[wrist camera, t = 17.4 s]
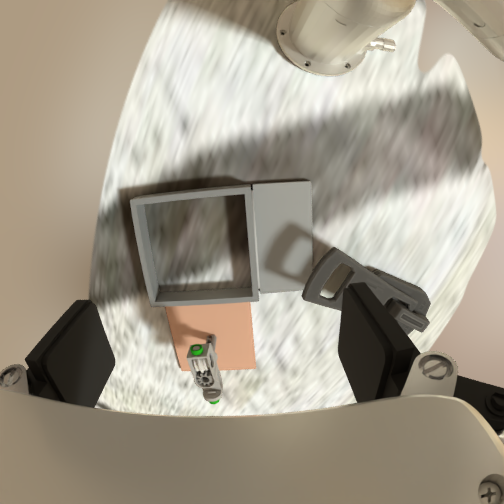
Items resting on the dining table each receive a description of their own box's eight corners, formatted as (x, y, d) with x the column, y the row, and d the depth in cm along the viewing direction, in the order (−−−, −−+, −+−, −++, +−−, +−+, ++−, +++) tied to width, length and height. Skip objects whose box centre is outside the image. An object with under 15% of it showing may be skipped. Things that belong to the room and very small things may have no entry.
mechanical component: (209, 362, 47) (203, 405, 38) (195, 312, 44) (183, 353, 35) (227, 360, 47) (223, 404, 38) (213, 309, 44) (206, 351, 34)
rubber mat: (249, 296, 44) (249, 298, 43) (255, 366, 49) (255, 368, 48) (165, 300, 44) (164, 302, 43) (182, 368, 49) (181, 371, 48)
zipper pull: (333, 242, 34) (450, 312, 39) (320, 227, 41) (430, 294, 45) (295, 302, 37) (417, 355, 42) (288, 279, 43) (402, 334, 48)
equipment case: (309, 180, 38) (314, 183, 35) (311, 286, 44) (315, 296, 41) (137, 196, 38) (129, 200, 36) (156, 297, 44) (151, 307, 41)
